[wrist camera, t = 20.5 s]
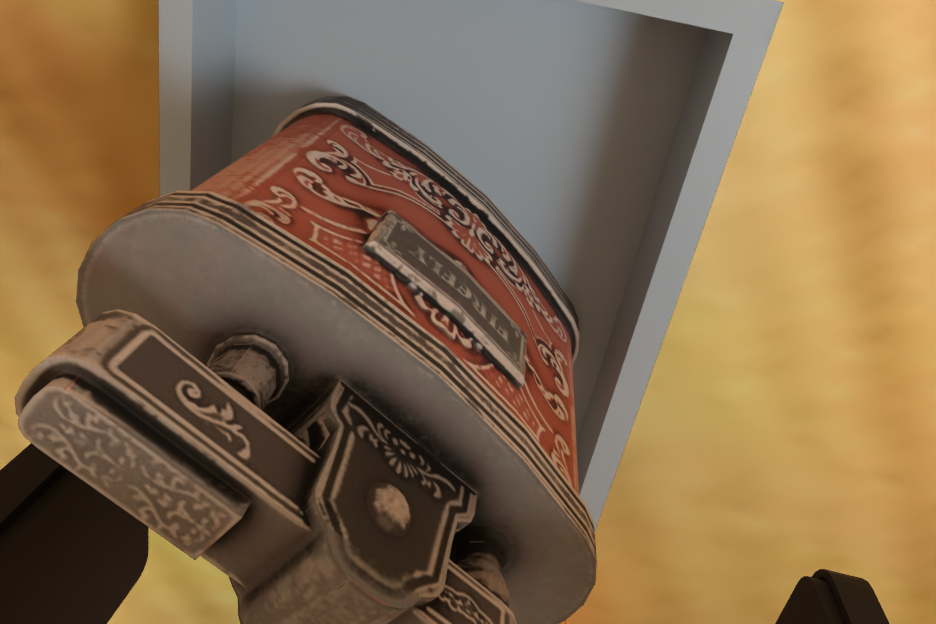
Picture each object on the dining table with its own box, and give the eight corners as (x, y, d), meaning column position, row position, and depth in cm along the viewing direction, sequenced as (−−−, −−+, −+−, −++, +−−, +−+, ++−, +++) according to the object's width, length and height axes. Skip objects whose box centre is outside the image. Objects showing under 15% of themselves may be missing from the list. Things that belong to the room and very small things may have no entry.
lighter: (613, 318, 17) (687, 748, 8) (507, 403, 18) (463, 855, 9) (343, 55, 15) (17, 213, 6) (246, 171, 16) (-146, 451, 7)
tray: (746, -6, 14) (783, 2, 12) (581, 487, 19) (585, 557, 17) (221, -118, 14) (158, -131, 12) (206, 405, 19) (161, 463, 17)
